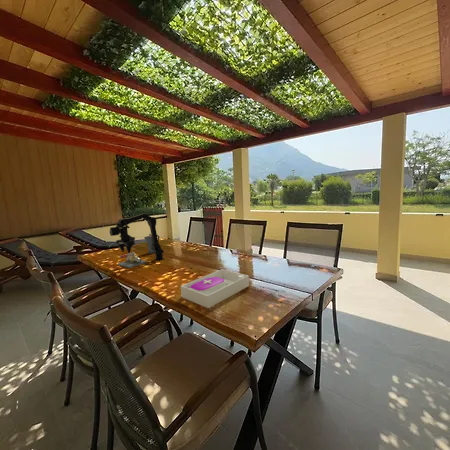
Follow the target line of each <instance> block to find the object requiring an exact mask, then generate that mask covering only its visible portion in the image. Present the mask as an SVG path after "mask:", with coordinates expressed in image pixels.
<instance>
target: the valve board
mask: <svg viewBox="0 0 450 450" xmlns="http://www.w3.org/2000/svg"><path fill="white" fill-rule="evenodd" d="M146 263H147V261H146V260H142V259H141V263H135V262H134V263H131V262H130V261H127V260H126V261H122V262H118V263H117V266H119V267H120V266H121V267H124V268H127V269H132V268H134V267H137V266H141V265H144V264H146Z"/></svg>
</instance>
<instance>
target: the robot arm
mask: <svg viewBox="0 0 450 450" xmlns="http://www.w3.org/2000/svg"><path fill="white" fill-rule="evenodd" d="M140 220H145V221H146V222H147V224H148V227H149V229H150V234H151V236H152V242H153V243H152V245H151V249H152V250H153V251H154V253H153V254H154V255H155V258H154V261H161V260H164V259H165V257H164V256H163V253H164V252H165V251H164V250H163V249H162V247H161V245H160V243H159V242H158V236H157V235H158V233H157V229H156V227H157V218H156V217H154V216H150V215H148V214H146V213H141V214H137V215H134V216H130V217H125V218H120V219H118V221H117V224H116V226H110V227H109V235H110V236H111V237H113V236H119V238H120V239H117V240H116V241H115V244H116V245H117V246H118V247H119V249H120V250H121V252H122V253H123V252H125V248H126V251H127V254H129V253H131V250H132V246H134V245H136V244H135V240H136V237H135V236H131V235H130V234H129V233H128V232H129V231H128V229H129V228H130V226H129V225H130V224H131V223H134V222H136V221H140Z"/></svg>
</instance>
